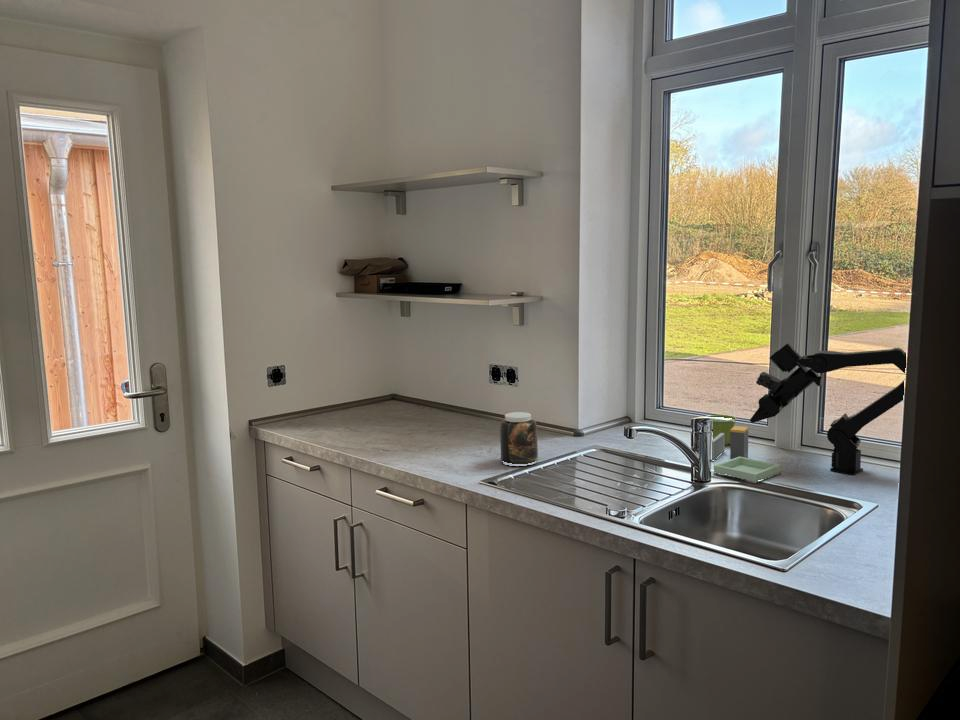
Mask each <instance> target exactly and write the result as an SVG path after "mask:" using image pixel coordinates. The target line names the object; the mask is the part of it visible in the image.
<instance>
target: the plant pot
mask: <svg viewBox="0 0 960 720" xmlns="http://www.w3.org/2000/svg"><path fill="white" fill-rule="evenodd" d="M707 417H724V418H732V419H734V420H735V422H733V421H713V439H714V438H715V437H716V436H718V435H719V434H720V433H725V445H726V446H729V444H730V429H732V428H733V427H734V426H735V424H736V421H737V417H736V416H733V415H727V414H712V415H708V416H707Z"/></svg>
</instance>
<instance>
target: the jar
mask: <svg viewBox="0 0 960 720" xmlns="http://www.w3.org/2000/svg"><path fill="white" fill-rule="evenodd" d="M499 425H500V426H499V433H500V434H499V441H500V444H499V445H500V461H501V460H502V461H504V462H507V463H512V464H528V463H532V462H535V461H537V460H538V461H539V447H538V427H537V426H538V425H537V421H536V420H535V419H533V418H532V414H531V413H530V412H525V411H514V412H513V411H512V412H508V413H506V414H504V419H503V420H502V421H501V422H500V424H499Z"/></svg>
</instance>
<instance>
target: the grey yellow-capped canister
mask: <svg viewBox="0 0 960 720" xmlns="http://www.w3.org/2000/svg"><path fill="white" fill-rule="evenodd" d="M729 449H730V453H729V460H730V459H734V458H736V457H739V456H740V457H745V458H749V427H748V426H739V425H734V427H733V428H732V429H730V448H729Z"/></svg>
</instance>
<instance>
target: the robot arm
mask: <svg viewBox="0 0 960 720" xmlns="http://www.w3.org/2000/svg"><path fill="white" fill-rule="evenodd" d="M906 353H907V352H906V351H905V350H903V349H902V348H900V347H893V348H890V349H888V348H887V349H877V350H865V351H852V352H843V351H841V352H840V351H833V350H820V351H817V352H815V353H814V354H808V355H807V354H805V355H802V356H801V355H800V354H799V352H798V351H796V350H795V348H794V347H793V346H792V345H791V344H790V343H789V342H788V343H786V344H785V345H783V346H782V347H781V348H779V349H778V350H777V351H775V352H774V353H772V354H771V356H769V358H768V359H769V361H771V362H772V363H773V364H774V365H775V366H776V367H777V368H778V369H779V370H780V371H781V372H782V373H784V372H785V373H788V374H789V373H790V372H791V371H793V370H794V369H795V368H797V369H795V370H794V371H793V372H792V373H791V374H789V375H788V376H787V377H786V378H783V379H782V380H781V379H779V378H778V377H776V376H774V375H771V374H770V373H768V372H767V371H766V372H765V371H762V372H761V373H759V376H758V377H757V380H756V382H755V384H756V385H758V386H762V387H764V388H766V389H768V390H769V391H768V393H765V394H764V395H763V396H762V397H760V398H759V399H758V408H757V410H756V411H755V413H754V414H753V415H752V417H750V419H749V422H750V423H752V424H754V423H757V422H761V421H763V420H766V419H769V418H774V417H775V416H777V415H778V414H779V413H781V412H782V411H783V409H784V408H785V407H787V406H788V405H789V404H790V403H792V401H793V400H794V399H795V398H797V397H798V396H799V395H800V394H801V393H803V392H804V391H805V390H806V389H807V388H808V387H810V386H811V385H813V383H814V384H815V385H816V386H817V387H820V386H822V385H823V377H824V376H823V375H818V374H825V373H830V372H833V371H834V372H835V371H837V370H841V369H845V368H851V367H865V366H878V365H879V366H881V365H891V364H892V365H894V366H895V367H897V368H898V369H899V370H900V371H901V372H902V373H903V374H905V368H906ZM808 368H809V369H808ZM904 380H905V378H904V379H903V380H902V381H901V382H900V383H899V384H898V385H897V386H894V388H892V389H891V390H889V391H888V392H886V393H884V394H883V395H882V396H879V398H877V399H876V400H874V401H873V402H872V403H870V404H869V405H867V406H866V407H864V408H863V409H862V410H860V411H859V412H856V414H853V415H850V416H849V415H848V414H847V413H846V412H845V413H844V414H842V415H841V417H839V418H837V419H834V420H833V421H832V422H831V424H830V425H829V426H830V427H829V429H828V431H827V432H826V433H827V434H826V438H827V440H828V442H830V444H831V445H832V446H833V452H832V453H831V464H830V465H831V467H830V469H829V470H830V471H831V472H837V473H842V474H846V475H852V476H854V475H856V474H858V473H860V472H863V471H864V468H862V466H861V465H862V463H861V461H862V459H861V458H862V450H861V449H859V448H858V447H859V446H860V443H861V442H862V440H861V438H859V437H858V436H857V435H856V434H857V433H859V432H860V431H861V430H862V428H864V427H866V426H867V425H868V424H870V423H872V421H874V420H875V419H878V417H880V416H881V415H883V414H885V413H886V412H888V411H889V410H891V409H892V408H894V407H895V406H897V405H899V403H901V402H903V401H904V400H903V395H904Z"/></svg>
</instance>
